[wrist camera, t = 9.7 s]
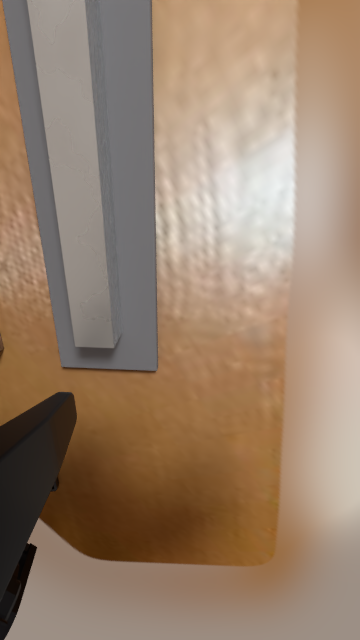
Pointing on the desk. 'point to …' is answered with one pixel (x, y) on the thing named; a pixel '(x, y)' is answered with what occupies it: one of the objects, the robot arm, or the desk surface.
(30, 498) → the robot arm
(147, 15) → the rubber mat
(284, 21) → the desk surface
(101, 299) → the steel rail
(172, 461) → the desk surface
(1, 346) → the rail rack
